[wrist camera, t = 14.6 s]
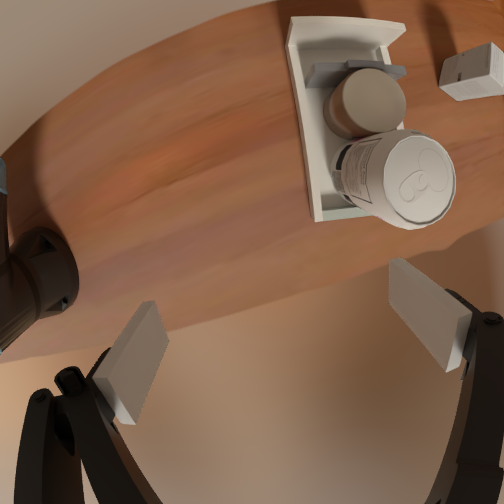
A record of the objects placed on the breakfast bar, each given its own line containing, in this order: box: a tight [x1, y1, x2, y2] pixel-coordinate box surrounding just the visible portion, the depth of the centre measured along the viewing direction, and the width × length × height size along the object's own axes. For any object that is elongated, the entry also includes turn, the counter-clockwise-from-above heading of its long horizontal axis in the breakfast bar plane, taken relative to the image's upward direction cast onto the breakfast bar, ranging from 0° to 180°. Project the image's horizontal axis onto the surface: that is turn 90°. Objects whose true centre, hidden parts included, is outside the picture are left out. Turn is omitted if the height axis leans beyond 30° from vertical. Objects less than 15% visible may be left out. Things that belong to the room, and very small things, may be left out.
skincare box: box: [439, 42, 504, 101], centre depth 23 cm, size 6×4×12 cm
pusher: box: [304, 60, 407, 89], centre depth 26 cm, size 10×1×8 cm, turn 98°
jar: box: [323, 68, 406, 140], centre depth 27 cm, size 7×7×9 cm
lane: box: [285, 16, 406, 222], centre depth 28 cm, size 13×23×9 cm, turn 8°
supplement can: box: [331, 129, 456, 230], centre depth 25 cm, size 8×8×15 cm
